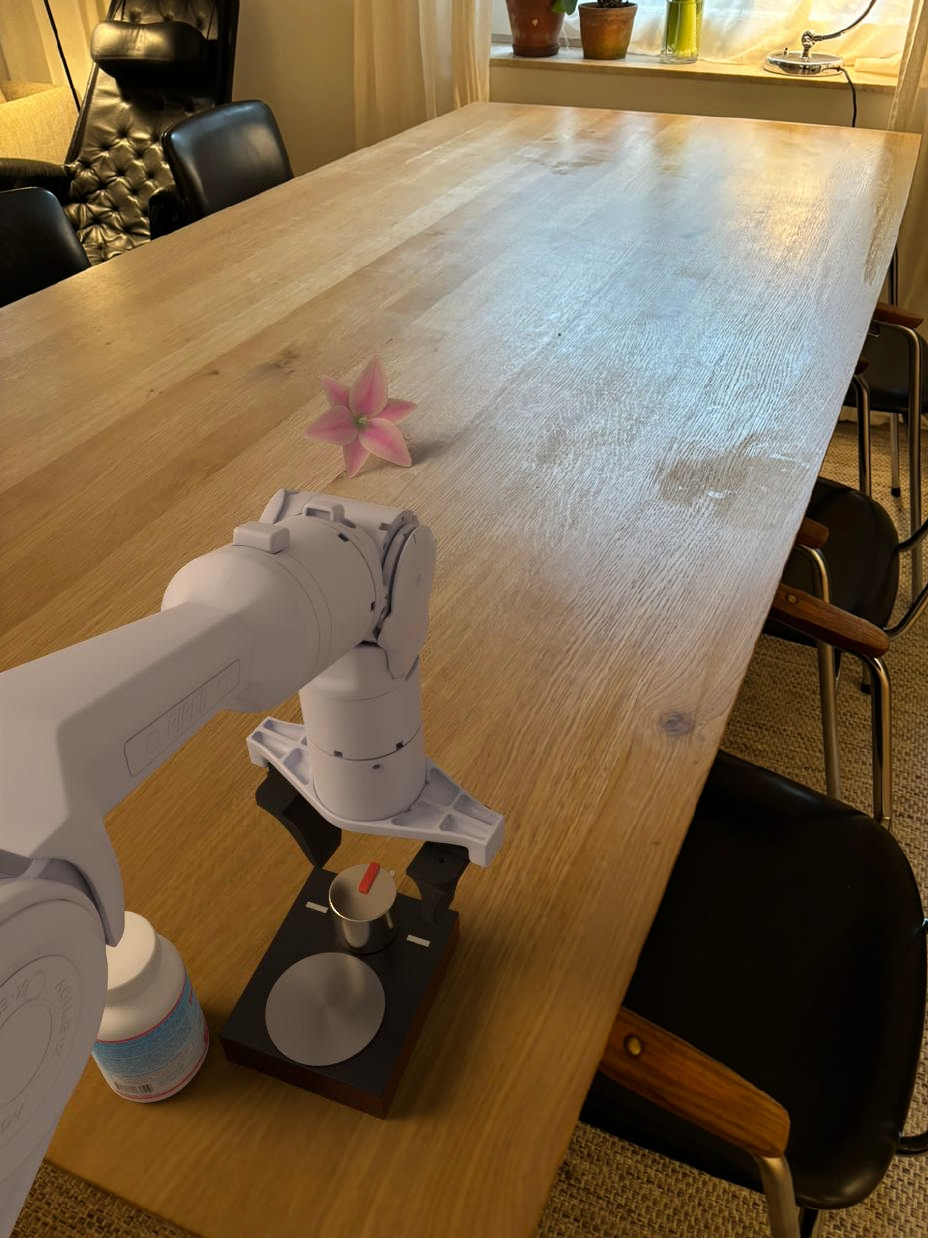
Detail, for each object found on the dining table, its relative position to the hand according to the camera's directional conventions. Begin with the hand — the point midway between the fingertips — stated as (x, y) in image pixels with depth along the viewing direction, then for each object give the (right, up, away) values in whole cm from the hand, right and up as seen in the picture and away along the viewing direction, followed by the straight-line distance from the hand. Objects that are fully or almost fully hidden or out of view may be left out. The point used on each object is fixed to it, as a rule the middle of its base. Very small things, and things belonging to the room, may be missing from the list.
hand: (381, 881), depth 57 cm
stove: (-2, -8, +4) cm, 9 cm away
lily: (-6, +32, +51) cm, 61 cm away
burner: (-3, -7, 0) cm, 8 cm away
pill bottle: (-13, -10, +1) cm, 17 cm away
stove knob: (-1, -4, +4) cm, 6 cm away
